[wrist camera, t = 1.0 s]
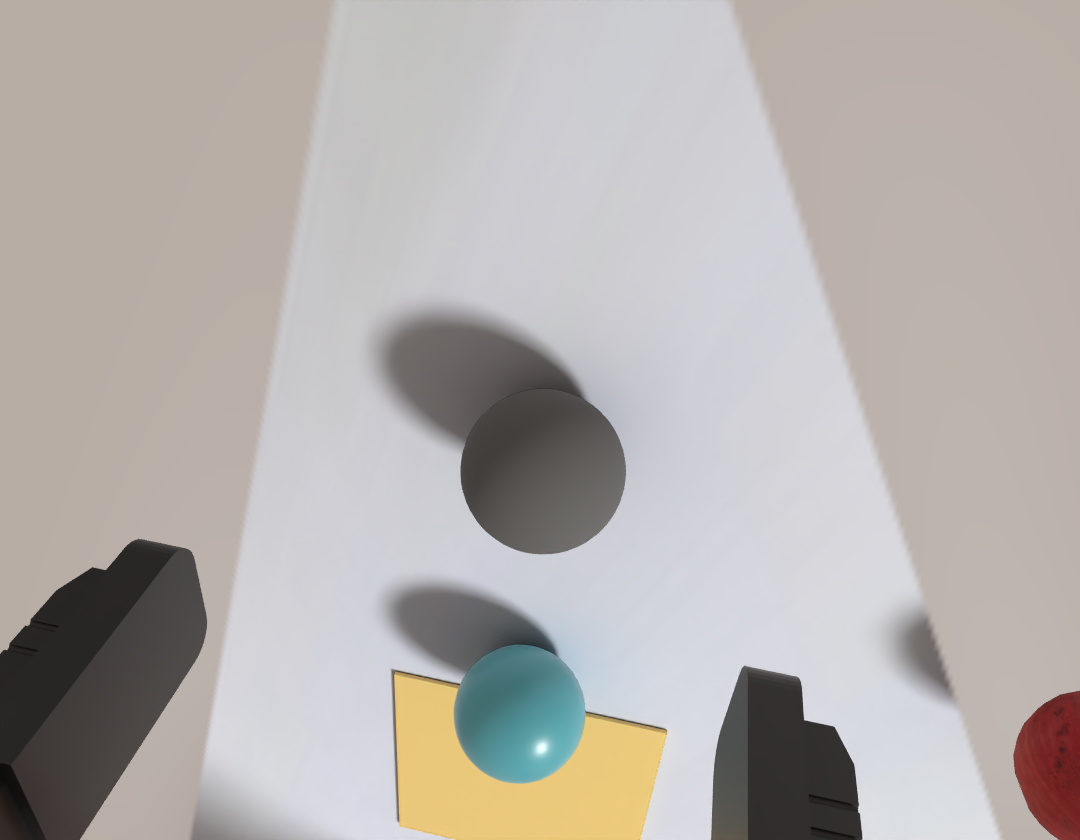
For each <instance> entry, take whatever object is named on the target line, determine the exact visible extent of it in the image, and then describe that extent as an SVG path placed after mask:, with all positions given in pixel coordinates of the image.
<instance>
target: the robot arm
mask: <svg viewBox="0 0 1080 840" xmlns="http://www.w3.org/2000/svg"><path fill="white" fill-rule="evenodd" d="M206 629H207V617H206V612H205V607H204V602H203V598H202V593H201V588H200V583H199V579H198V574H197V569H196V564H195V560H194V556H193V554H192V552H191V551H190V550H188V549H186V548H181V547H176V546H171V545H167V544H162V543H157V542H152V541H147V540H142V539H138V540H134V541H132V542H131V543H130V544H128V545H127V546H126V547H125V548H124V550H123V551H122V552H121V553H120V554H119V555H118V557H117V558H116V559H115V560H114V561H113V562H112V564H111V565H110V566H109V567H108V568H107V570H102V569H97V568H93V567H92V568H91V569H89V570H88V571H86V572H85V573H83V574H82V575H80V576H78V577H77V578H75V579H73V580H72V581H70V582H69V583H67V584H66V585H64V586H63V587H61V588H59V589H58V590H57V591H56V592H55V593H54V594H53V595H52V596H51V597H50V598H49V600H48V601H47V602H46V603H45V604H44V605H43V606H42V607H41V608H40V610H39V611H38V612H37V613H36V614H35V615H34V617H33V618H32V619H31V622H30V625H29V626H25V627H24V628H23V629H22V630H21V631H20V632H19V633H18V635H17V636H16V637H15V638H14V639H13V640H12V641H11V642H10V645H9V648H8V650H3V652H2V653H1V654H0V840H80V838H81V837H82V835H83V834H84V832H85V830H86V829H87V827H88V826H89V824H90V823H91V821H92V820H93V818H94V817H95V815H96V813H97V812H98V810H99V809H100V807H101V806H102V804H103V803H104V801H105V800H106V798H107V796H108V795H109V794H110V792H111V791H112V789H113V787H114V786H115V784H116V783H117V781H118V780H119V778H120V776H121V775H122V774H123V772H124V770H125V769H126V767H127V766H128V764H129V763H130V761H131V760H132V758H133V757H134V755H135V753H136V752H137V750H138V749H139V747H140V746H141V744H142V743H143V741H144V740H145V738H146V736H147V735H148V733H149V732H150V730H151V729H152V727H153V725H154V724H155V722H156V721H157V719H158V718H159V716H160V715H161V713H162V712H163V710H164V709H165V707H166V706H167V704H168V702H169V701H170V699H171V698H172V696H173V695H174V693H175V692H176V690H177V689H178V687H179V685H180V684H181V682H182V681H183V679H184V678H185V676H186V675H187V673H188V672H189V670H190V668H191V667H192V665H193V664H194V662H195V660H196V659H197V657H198V655H199V653H200V651H201V648H202V646H203V643H204V639H205V635H206ZM858 806H859V803H858V794H857V785H856V776H855V767H854V764H853V762H852V760H851V758H850V756H849V754H848V752H847V750H846V748H845V746H844V744H843V742H842V741H841V739H840V737H839V735H838V733H837V731H836V729H835V727H833V726H828V725H824V724H819V723H814V722H810V721H805V720H804V714H803V698H802V686H801V682H800V679H799V678H798V677H795V676H790V675H786V674H781V673H776V672H771V671H766V670H761V669H757V668H752V667H747V666H744V667H743V668H742V670H741V672H740V675H739V677H738V680H737V683H736V686H735V689H734V692H733V695H732V698H731V701H730V704H729V707H728V710H727V713H726V716H725V719H724V722H723V725H722V728H721V731H720V735H719V739H718V744H717V749H716V756H715V764H714V776H713V804H712V833H711V840H862V829H861V820H860V813H858Z"/></svg>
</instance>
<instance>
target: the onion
mask: <svg viewBox="0 0 1080 840" xmlns="http://www.w3.org/2000/svg"><path fill="white" fill-rule="evenodd" d="M1014 767H1015V774H1016V777H1017V779H1018V782H1019V784H1020V787H1021V790H1022V792H1023V795H1024V797H1025V800H1026V802H1027V805H1028V808H1029V810H1030V811H1031V812H1032V814H1033V815H1034V817H1035V818H1036V819H1037V820H1038V822H1039V823H1040V824H1041V825H1042V826H1043V827H1044V828H1045V829H1046V830H1047V831H1048V832H1049V833H1050V834H1052V835H1053V836H1055V837H1056V838H1058V839H1059V840H1080V691H1076V692H1072V693H1066V694H1062V695H1059V696H1057V697H1055V698H1053V699H1052V700H1050V701H1048V702H1046V703H1044V704H1043V705H1042V706H1041V707H1040V708H1038V709H1037V710H1036V711H1035V713H1034V714H1033V715H1032V716H1031V717H1030V718H1029V719H1028V720H1027V721H1026V722H1025V723H1024V725H1023V727H1022V729H1021V732H1020V733H1019V735H1018V738H1017V742H1016V747H1015V751H1014Z"/></svg>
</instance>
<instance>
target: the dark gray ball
mask: <svg viewBox="0 0 1080 840" xmlns="http://www.w3.org/2000/svg"><path fill="white" fill-rule="evenodd" d="M625 476H626V465H625V458H624V453H623V449H622V446H621V443H620V440H619V438H618V436H617V434H616V432H615V430H614V428H613V427H612V425H611V424H610V422H609V421H608V420H607V419H606V417H605V416H604V415H603V414H602V413H601V412H600V411H599V410H598V409H597V408H595V407H594V406H593V405H592V404H590V403H589V402H587V401H586V400H584V399H582V398H580V397H578V396H575V395H573V394H570V393H567V392H564V391H560V390H553V389H532V390H527V391H522V392H519V393H516V394H513V395H510V396H508V397H506V398H504V399H503V400H501V401H499V402H498V403H496V404H495V405H493V406H492V407H491V408H490V409H489V410H488V411H486V412H485V413H484V414H483V415H482V416H481V418H480V419H479V420H478V421H477V423H476V424H475V426H474V427H473V429H472V431H471V432H470V434H469V436H468V438H467V441H466V444H465V447H464V450H463V454H462V460H461V484H462V490H463V493H464V496H465V499H466V502H467V505H468V507H469V509H470V511H471V512H472V514H473V516H474V517H475V519H476V520H477V522H478V523H479V524H480V525H481V527H482V528H483V529H484V530H485V531H486V532H487V533H489V534H490V535H491V536H492V537H494V538H495V539H496V540H498V541H499V542H501V543H502V544H504V545H506V546H508V547H510V548H513V549H516V550H518V551H522V552H526V553H532V554H554V553H560V552H564V551H568V550H570V549H573V548H575V547H578V546H580V545H582V544H584V543H586V542H587V541H588V540H590V539H591V538H593V537H594V536H595V535H597V534H598V533H599V532H600V531H601V530H602V529H603V528H604V527H605V526H606V525H607V523H608V522H609V521H610V519H611V518H612V516H613V515H614V513H615V511H616V509H617V507H618V505H619V503H620V500H621V497H622V494H623V490H624V485H625Z"/></svg>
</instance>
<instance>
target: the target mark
mask: <svg viewBox="0 0 1080 840" xmlns="http://www.w3.org/2000/svg"><path fill="white" fill-rule="evenodd" d="M394 680H395V709H396V737H397V765H398V793H399V822H400V827H405V828H409V829H413V830H417V831H421V832H425V833H430V834H434V835H438V836H442V837H446V838H450V839H455V840H640V839H641V835H642V831H643V827H644V823H645V819H646V815H647V811H648V807H649V803H650V799H651V795H652V791H653V787H654V783H655V779H656V775H657V771H658V767H659V763H660V759H661V755H662V751H663V747H664V743H665V739H666V735H667V730H663V729H658V728H654V727H649V726H645V725H640V724H635V723H631V722H626V721H622V720H617V719H612V718H608V717H603V716H599V715H594V714H589V713H585V715H586V716H585V725H584V730H583V734H582V737H581V740H580V742H579V745H578V747H577V749H576V750H575V752H574V753H573V755H572V757H571V758H570V759H569V760H568V761H567V762H566V763H565V765H564V766H563V767H561V768H560V769H559V770H558V771H556V772H555V773H554V774H552V775H550V776H548V777H546V778H544V779H542V780H539V781H535V782H531V783H525V784H516V783H507V782H503V781H499V780H497V779H494V778H492V777H490V776H488V775H487V774H485V773H483V772H482V771H480V770H479V769H478V768H477V767H476V766H475V765H474V764H473V763H472V762H471V761H470V760H469V759H468V757H467V756H466V754H465V753H464V751H463V749H462V748H461V745H460V743H459V740H458V738H457V735H456V730H455V726H454V703H455V698H456V695H457V691H458V689H459V686H460V685H456V684H451V683H446V682H442V681H437V680H433V679H428V678H423V677H419V676H414V675H410V674H405V673H400V672H395V674H394Z"/></svg>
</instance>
